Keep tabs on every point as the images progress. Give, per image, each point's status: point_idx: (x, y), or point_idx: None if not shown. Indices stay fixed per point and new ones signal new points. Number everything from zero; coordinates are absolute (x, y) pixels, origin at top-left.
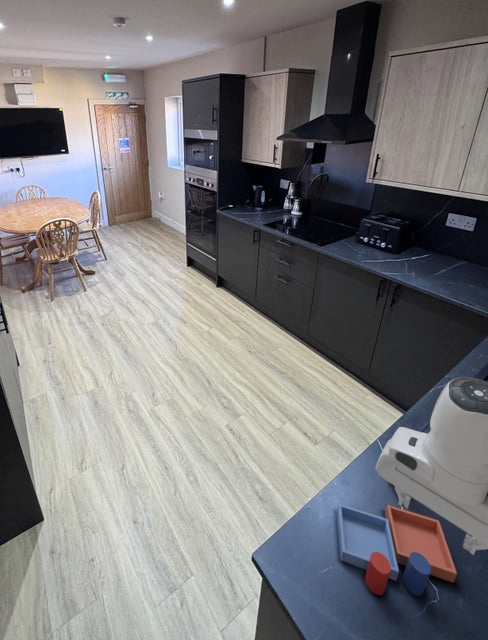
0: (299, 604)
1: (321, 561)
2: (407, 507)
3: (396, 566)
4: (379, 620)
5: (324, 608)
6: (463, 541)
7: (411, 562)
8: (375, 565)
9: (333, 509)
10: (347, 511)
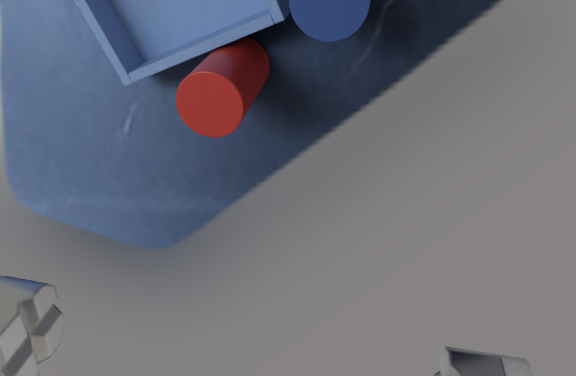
0: (124, 225)
1: (109, 111)
2: (43, 355)
3: (273, 6)
4: (276, 142)
5: (167, 199)
6: (441, 365)
7: (299, 25)
8: (199, 127)
9: None
10: None
